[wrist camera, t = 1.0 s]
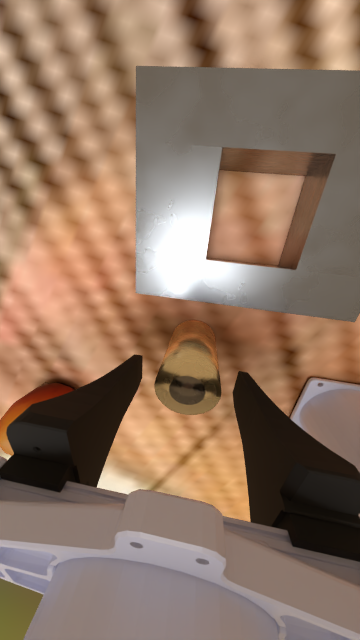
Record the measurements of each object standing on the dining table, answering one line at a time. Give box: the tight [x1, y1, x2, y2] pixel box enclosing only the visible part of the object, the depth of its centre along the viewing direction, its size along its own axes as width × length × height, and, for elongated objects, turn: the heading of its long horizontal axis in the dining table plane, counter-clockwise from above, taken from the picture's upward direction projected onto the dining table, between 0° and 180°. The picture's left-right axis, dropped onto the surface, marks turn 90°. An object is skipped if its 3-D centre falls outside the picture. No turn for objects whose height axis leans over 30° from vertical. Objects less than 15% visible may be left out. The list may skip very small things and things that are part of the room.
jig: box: [136, 66, 360, 322], centre depth 12 cm, size 16×12×3 cm
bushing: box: [155, 320, 221, 415], centre depth 15 cm, size 4×4×7 cm
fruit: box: [0, 382, 74, 456], centre depth 21 cm, size 8×8×8 cm
